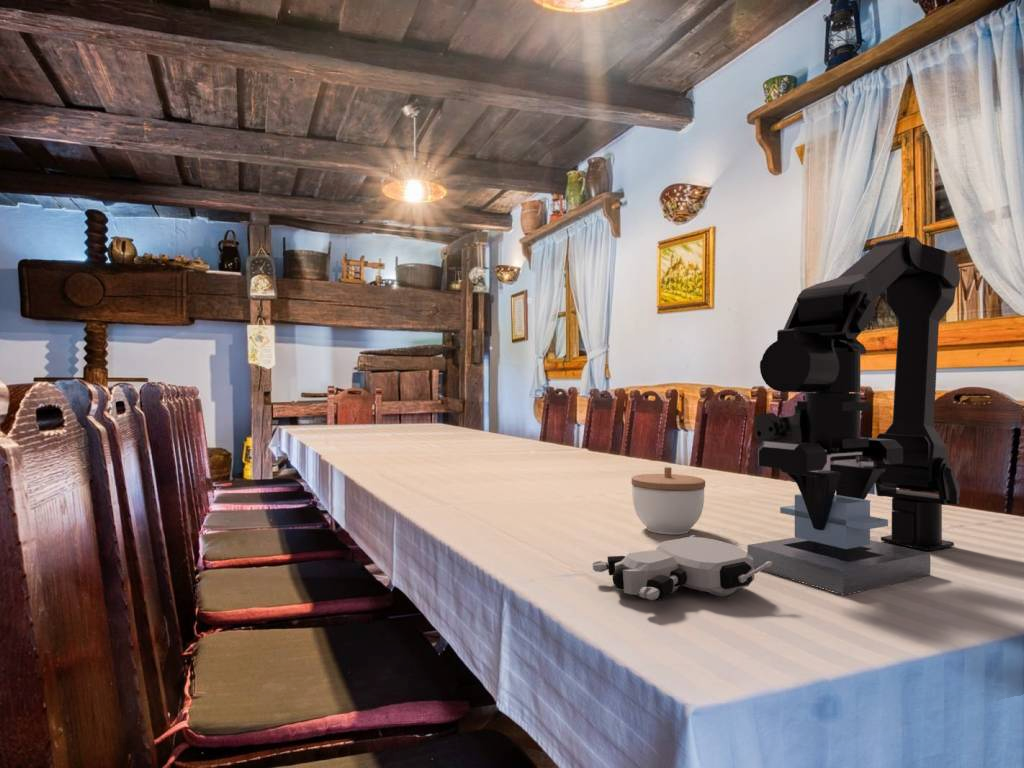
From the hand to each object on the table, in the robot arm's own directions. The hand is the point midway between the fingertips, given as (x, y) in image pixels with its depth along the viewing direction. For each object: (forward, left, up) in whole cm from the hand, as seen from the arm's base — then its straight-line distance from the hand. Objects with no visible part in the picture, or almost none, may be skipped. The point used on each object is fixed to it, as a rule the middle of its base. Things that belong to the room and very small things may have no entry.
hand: (832, 527), depth 72 cm
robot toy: (+21, -3, -6) cm, 22 cm away
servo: (0, 0, -2) cm, 2 cm away
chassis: (-1, 0, -5) cm, 5 cm away
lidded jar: (+2, -25, -5) cm, 26 cm away
